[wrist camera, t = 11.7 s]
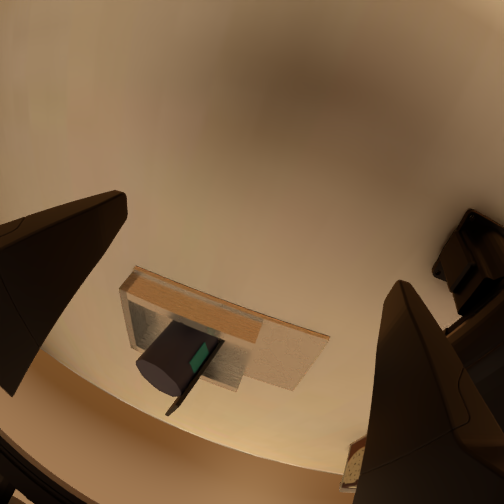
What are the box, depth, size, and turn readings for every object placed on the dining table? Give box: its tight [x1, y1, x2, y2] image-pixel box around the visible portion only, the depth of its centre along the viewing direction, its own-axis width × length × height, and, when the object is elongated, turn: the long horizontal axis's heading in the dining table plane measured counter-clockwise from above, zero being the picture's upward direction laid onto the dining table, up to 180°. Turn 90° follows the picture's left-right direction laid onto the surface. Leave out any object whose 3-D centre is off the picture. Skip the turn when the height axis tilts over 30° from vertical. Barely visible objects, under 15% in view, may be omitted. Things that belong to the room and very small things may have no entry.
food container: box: [339, 434, 367, 493], centre depth 39 cm, size 12×6×10 cm, turn 169°
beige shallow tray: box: [119, 266, 330, 392], centre depth 33 cm, size 22×13×4 cm, turn 79°
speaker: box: [136, 320, 225, 416], centre depth 31 cm, size 8×6×10 cm
